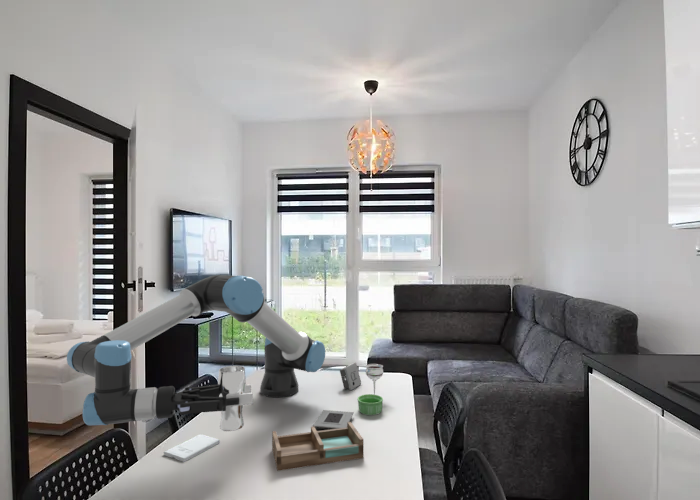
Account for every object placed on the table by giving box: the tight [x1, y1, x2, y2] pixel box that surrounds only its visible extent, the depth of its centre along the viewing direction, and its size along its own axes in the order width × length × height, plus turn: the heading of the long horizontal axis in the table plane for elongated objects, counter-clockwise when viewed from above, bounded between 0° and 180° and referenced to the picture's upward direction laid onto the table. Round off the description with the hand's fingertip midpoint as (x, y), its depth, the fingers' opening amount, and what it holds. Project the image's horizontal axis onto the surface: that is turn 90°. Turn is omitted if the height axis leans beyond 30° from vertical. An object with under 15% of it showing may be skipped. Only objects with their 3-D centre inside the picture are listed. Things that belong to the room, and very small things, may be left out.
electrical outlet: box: [312, 409, 354, 430], centre depth 132 cm, size 13×10×2 cm
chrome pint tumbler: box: [217, 365, 247, 432], centre depth 106 cm, size 7×7×15 cm
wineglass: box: [365, 363, 384, 395], centre depth 156 cm, size 7×7×12 cm
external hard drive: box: [163, 433, 221, 463], centre depth 115 cm, size 2×8×12 cm
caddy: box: [271, 421, 365, 472], centre depth 112 cm, size 12×23×5 cm, turn 107°
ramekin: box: [356, 393, 384, 416], centre depth 143 cm, size 9×9×4 cm
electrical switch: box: [339, 362, 362, 391], centre depth 169 cm, size 9×5×9 cm, turn 152°
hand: (251, 393), depth 108 cm, fingers closed on chrome pint tumbler, 6 cm apart
